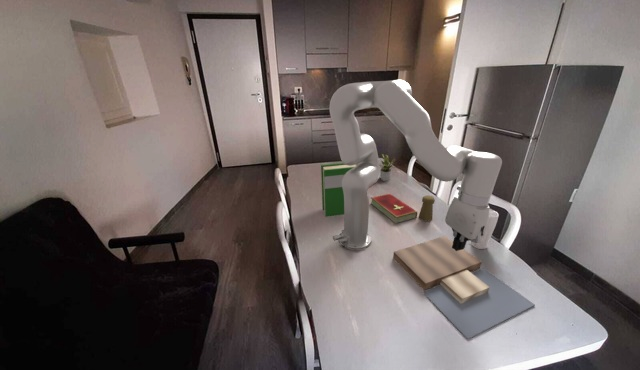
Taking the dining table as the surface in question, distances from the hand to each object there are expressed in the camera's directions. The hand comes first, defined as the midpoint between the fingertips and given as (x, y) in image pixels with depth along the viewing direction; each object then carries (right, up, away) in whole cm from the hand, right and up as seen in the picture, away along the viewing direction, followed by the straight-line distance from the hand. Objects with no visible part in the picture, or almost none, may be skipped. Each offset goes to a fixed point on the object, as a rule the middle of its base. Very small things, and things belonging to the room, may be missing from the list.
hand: (457, 248), depth 77 cm
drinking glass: (+19, -4, +19) cm, 27 cm away
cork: (+6, +4, +39) cm, 39 cm away
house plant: (-2, +24, +82) cm, 85 cm away
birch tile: (+2, -13, +1) cm, 13 cm away
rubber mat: (+4, -14, -3) cm, 15 cm away
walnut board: (-2, -8, +11) cm, 14 cm away
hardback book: (-32, +7, +47) cm, 57 cm away
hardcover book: (-7, +7, +46) cm, 47 cm away
